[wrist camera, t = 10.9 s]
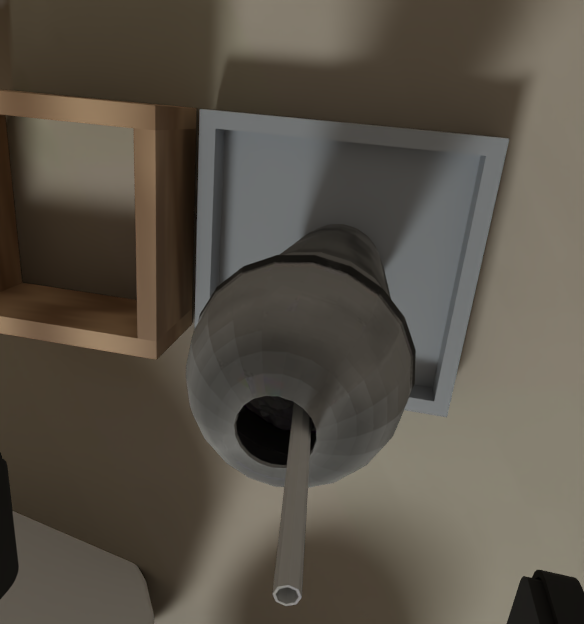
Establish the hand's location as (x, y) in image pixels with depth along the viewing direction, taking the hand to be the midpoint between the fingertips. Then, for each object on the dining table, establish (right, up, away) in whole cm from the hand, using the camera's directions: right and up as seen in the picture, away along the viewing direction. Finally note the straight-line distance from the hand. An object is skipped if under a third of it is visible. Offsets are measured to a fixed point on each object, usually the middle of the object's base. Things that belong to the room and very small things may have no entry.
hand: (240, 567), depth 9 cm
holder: (-10, +10, +21) cm, 25 cm away
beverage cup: (+3, +7, +18) cm, 20 cm away
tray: (+3, +7, +19) cm, 21 cm away
